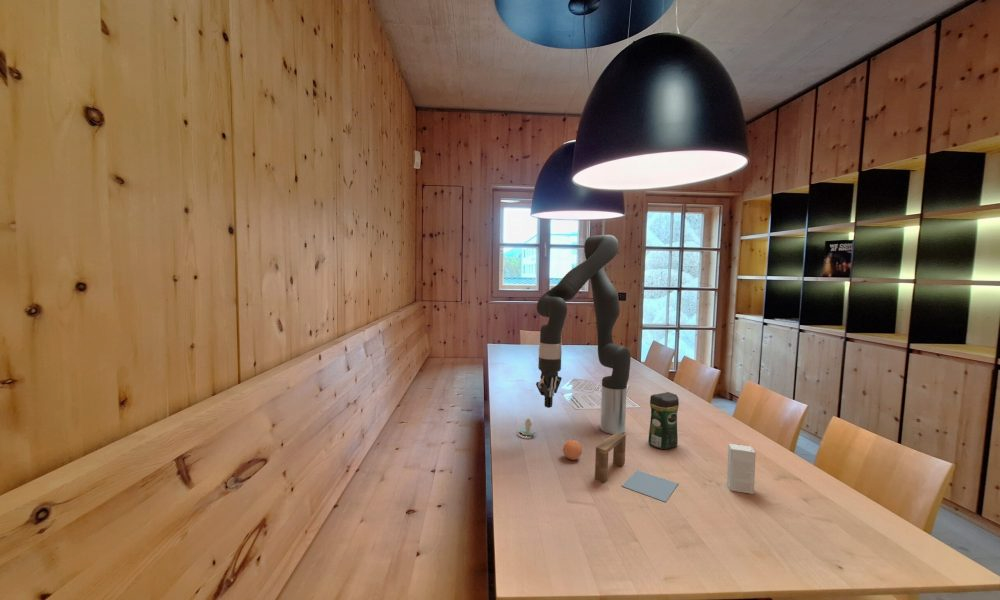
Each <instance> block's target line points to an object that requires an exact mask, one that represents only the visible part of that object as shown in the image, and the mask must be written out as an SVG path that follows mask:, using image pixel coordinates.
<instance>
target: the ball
mask: <svg viewBox="0 0 1000 600" xmlns="http://www.w3.org/2000/svg"><path fill="white" fill-rule="evenodd" d="M562 448H563V449H562V451H563V455H564V456H565V457H566V458H567V459H569V460H573V461H575V460H577V459H579V458H580V457H581V455H582V452H583V448H582V445H581V444H580V442H579V441H577V440H574V439H569V440H567V441H566V442H565V443H564V444H563V447H562Z"/></svg>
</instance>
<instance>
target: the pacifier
mask: <svg viewBox="0 0 1000 600" xmlns="http://www.w3.org/2000/svg"><path fill="white" fill-rule="evenodd" d="M524 424H525V425H522V426H520V427H519V428H518V429H519V431H518V432H517V433H516V435H517V436H518V437H520V438H522V439H524V440H525V439H526V440H527V439H531V438H532V435H535V434H536V433H537V431H531V426H532V424H533V423H532V419H531V418H527V419H526V420H525V423H524ZM520 433H522V434H520ZM524 435H525V436H524ZM526 436H527V437H526Z"/></svg>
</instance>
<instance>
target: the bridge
mask: <svg viewBox="0 0 1000 600" xmlns="http://www.w3.org/2000/svg"><path fill="white" fill-rule="evenodd" d="M626 436H627V434H625V433H618V432H616V433H615V434H611V436H610V437H608V438H607V439H605V440H603V442H601V443H599V444H598V445H596V446H595V462H594V463H595V466H594V467H595V468H594V481H597V482H601V483H603V484H605V483H606V482H607V481H608V476H609V475H608V472H609V452H610V451H613V453H612V454H613V455H612V464H613V465H616V466H618V465H619V467H624V466H625V465H626V463H625V461H626V438H627V437H626ZM624 464H625V465H624Z"/></svg>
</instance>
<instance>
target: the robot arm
mask: <svg viewBox="0 0 1000 600" xmlns="http://www.w3.org/2000/svg"><path fill="white" fill-rule="evenodd" d="M583 246H584V247H583V249H584V251H583V252H584V256H585V260H584V261H583V262H581V263H580V264H578V265H576V266H574V267H573V268H572V269H570V270H568V272H567V273H566V274H565V275H564V276H563V278H561V279H560V281H559V282H558V283H557V284H556V285H555V286H554V287H552V288H550V289H549V290H547V291H546V292H545V293H543V295H541V297H540V298H539V299H538V301H537V303H536V312H537V314H538V315H540V316H541V317H544V318H549V319H548V322H547V324H544V325H542V326H541V327H540V333H539V346H538V364H537V365H538V370H539V371H540V373H541V374H540V379H539V381H536V382H535V385H536V388H537V390H538V392H539V394H540V396H544V403H543V404H544V407H545V408H548V409H549V408H552V407H553V401H554V400H553V396H554V395H555V394H557V392H558V389H559V387H560V385H561V382H562V379H563V378H562V377H561V376H559V373H558V372H560V371H561V370H562V350H563V349H562V332H563V331H562V330H563V328H564V325H565V320H566V318H567V314H568V305H567V302H566V301H571V300H573V298H575V296H576V295H577V294H578V293H579V291H580V290H581V289H582V288H583V287H584V285H585V284H586V283H587V282H588V281H589V280H590V285H591V291H592V292H591V294H592V302H593V303H592V304H593V309H594V317H595V325H596V333H597V334H596V336H597V357H598V361H599V363H600V365H601V366H603V367H605V368H609V369H612V373H611V375H608V376H604V377H602V379H601V398H600V399H601V402H600V427H599V429H600V430H601V431H602V432H603V433H606V434H610V435H613V434H615V433H616V432H618V433H622V434H625V432H626V418H627V417H626V415H627V414H626V413H627V394H628V393H627V390H628V388H627V387H628V382H629V379H630V369H631V360H632V359H631V356H632V355H631V351H630V349H629V348H628V347H626V346H623V345H619V344H615V343H614V341H613V329H614V326H615V324H616V322H617V320H618V318H619V316H620V312H621V311H620V300H619V294H618V291H617V288H616V287H615V286H614V284H613V283H612V282H611V279H610V278H609V277H608V275H607V273H606V270H605V266H606V265H608V264H609V263H610V262H611V261H612V260H613V259H614V258H615V257H616V256H617V254H618V251H619V247H620V245H619V241H618V239H617V237H615V236H614V235H612V234H600V235H591V236H588V237H587V238H586V239H585V241H584V245H583Z"/></svg>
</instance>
